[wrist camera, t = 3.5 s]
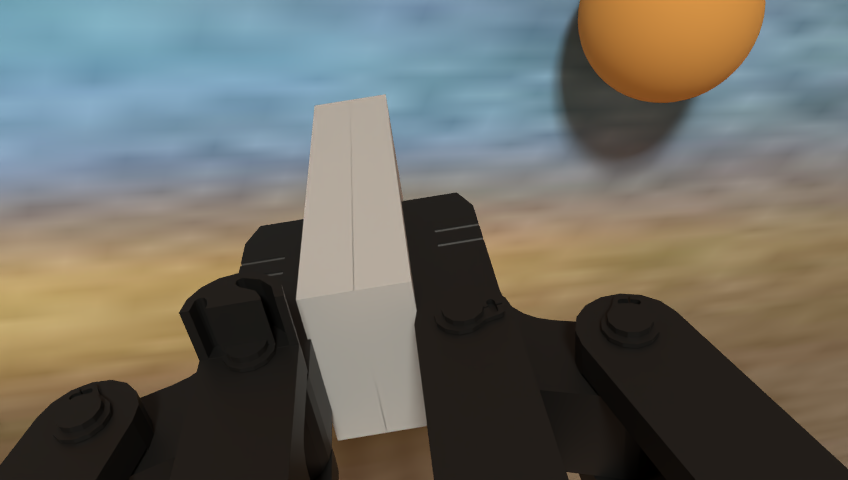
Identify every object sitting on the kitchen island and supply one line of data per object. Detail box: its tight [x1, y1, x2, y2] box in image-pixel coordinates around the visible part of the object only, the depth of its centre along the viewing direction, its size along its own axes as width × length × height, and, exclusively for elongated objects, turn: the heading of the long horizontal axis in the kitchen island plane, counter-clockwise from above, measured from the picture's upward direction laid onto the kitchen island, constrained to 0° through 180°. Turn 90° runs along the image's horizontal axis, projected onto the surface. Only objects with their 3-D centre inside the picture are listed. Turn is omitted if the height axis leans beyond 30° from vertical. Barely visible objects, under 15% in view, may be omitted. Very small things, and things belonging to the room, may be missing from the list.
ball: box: [578, 0, 765, 103], centre depth 21 cm, size 6×6×6 cm
